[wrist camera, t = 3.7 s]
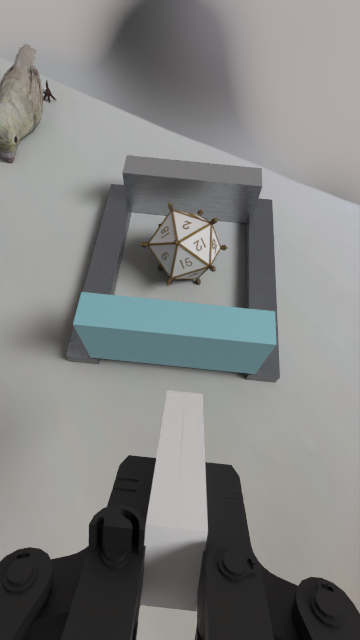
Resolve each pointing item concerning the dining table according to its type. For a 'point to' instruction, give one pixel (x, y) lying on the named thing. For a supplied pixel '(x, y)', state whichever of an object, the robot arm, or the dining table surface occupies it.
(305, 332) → the dining table surface
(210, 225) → the game die
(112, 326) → the sliding jaw
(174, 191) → the vise base
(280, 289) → the dining table surface
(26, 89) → the decorative bird
